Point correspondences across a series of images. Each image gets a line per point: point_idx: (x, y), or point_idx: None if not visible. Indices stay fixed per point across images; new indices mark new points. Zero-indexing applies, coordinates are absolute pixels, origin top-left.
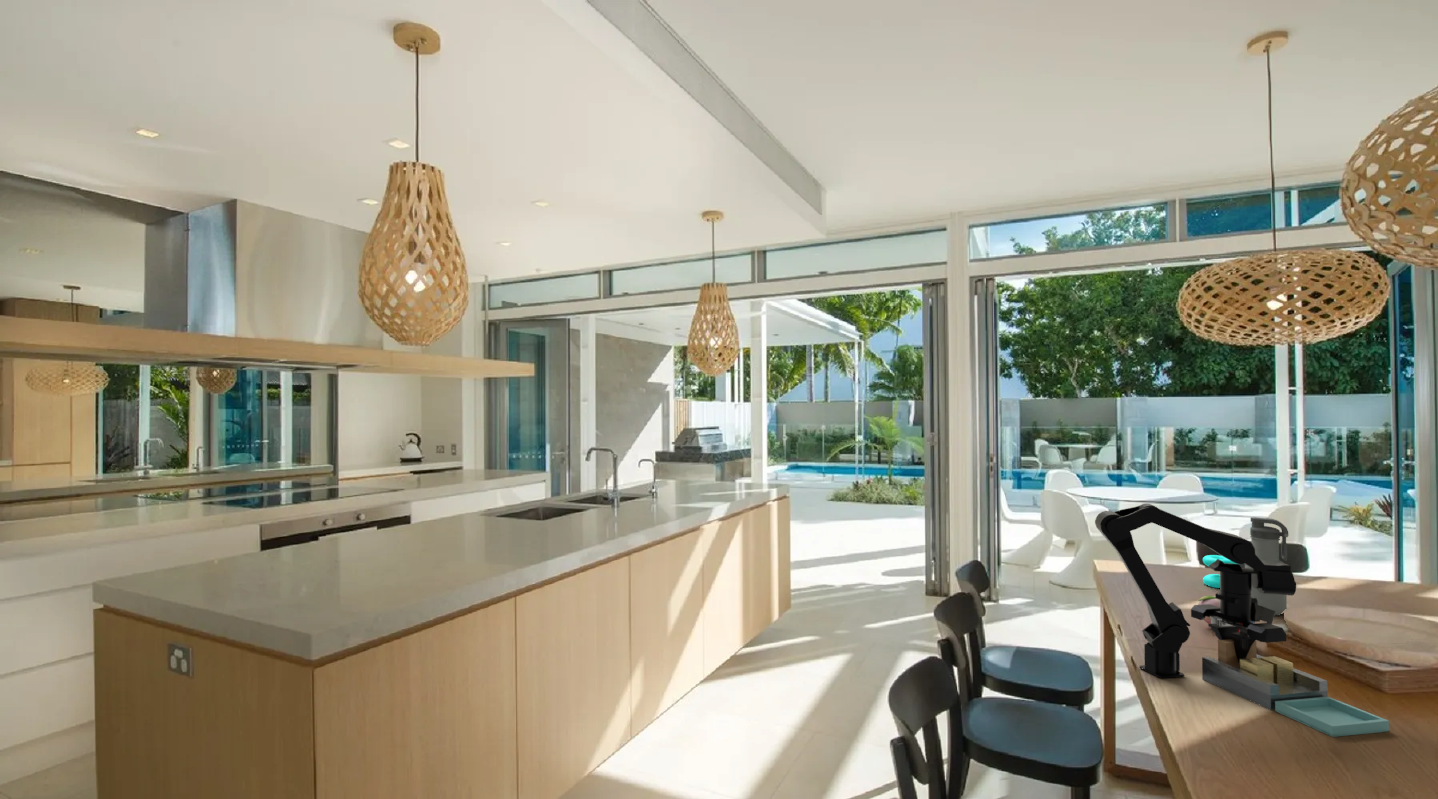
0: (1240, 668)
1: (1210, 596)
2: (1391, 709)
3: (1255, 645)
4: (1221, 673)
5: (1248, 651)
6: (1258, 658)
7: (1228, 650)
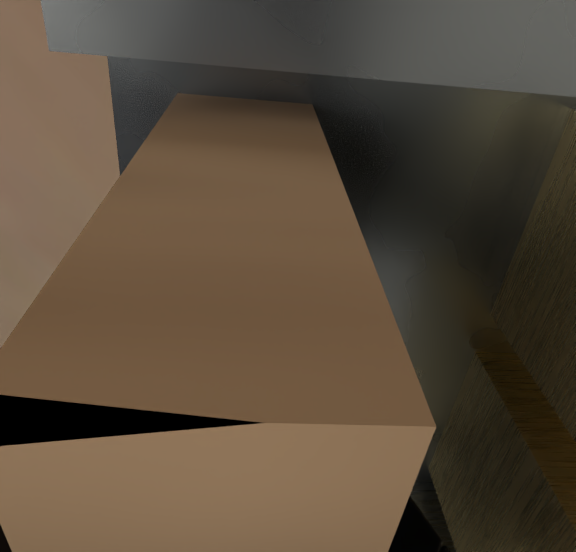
0: (458, 546)
1: None
2: None
3: (374, 321)
4: None
5: (409, 502)
6: (317, 72)
7: None
